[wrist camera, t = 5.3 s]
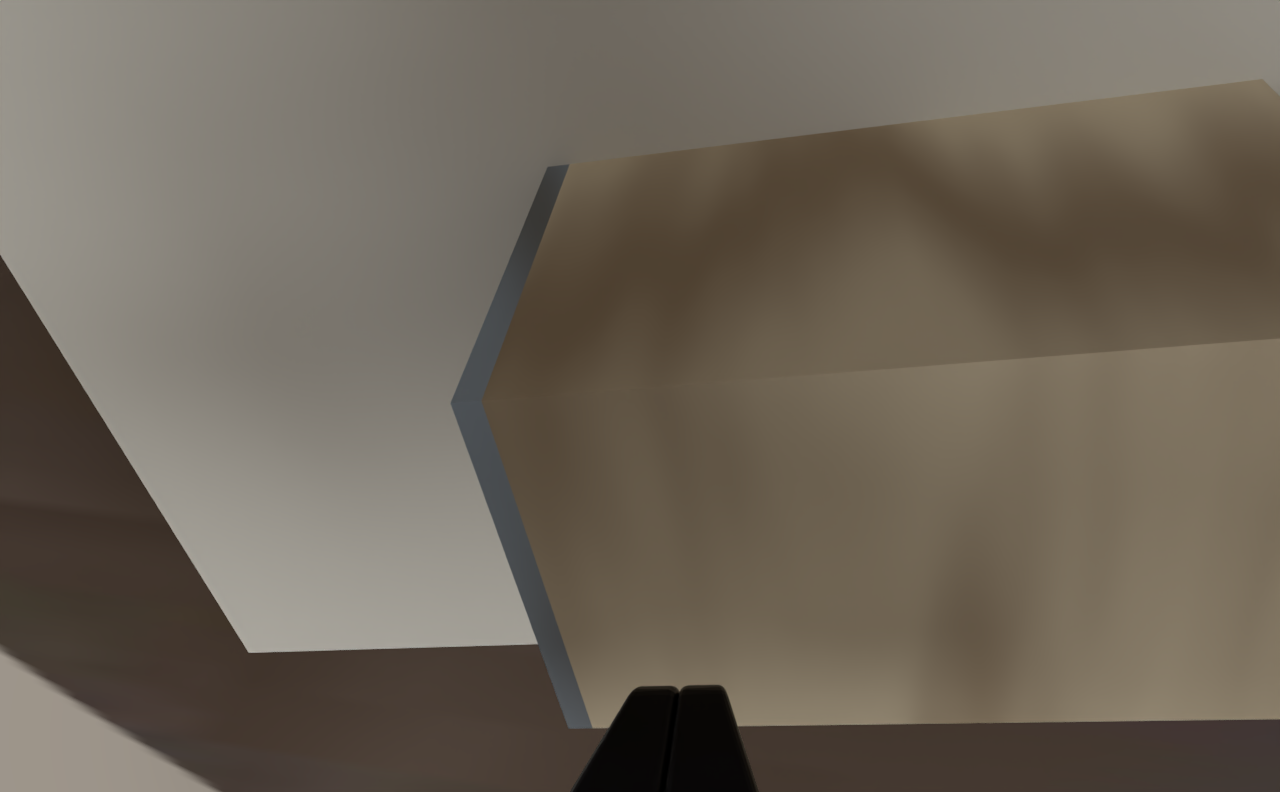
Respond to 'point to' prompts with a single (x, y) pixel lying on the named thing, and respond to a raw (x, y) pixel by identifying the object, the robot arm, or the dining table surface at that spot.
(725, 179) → the birch block
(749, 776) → the robot arm
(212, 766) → the dining table surface
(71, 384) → the dining table surface
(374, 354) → the grey mat
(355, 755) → the dining table surface
